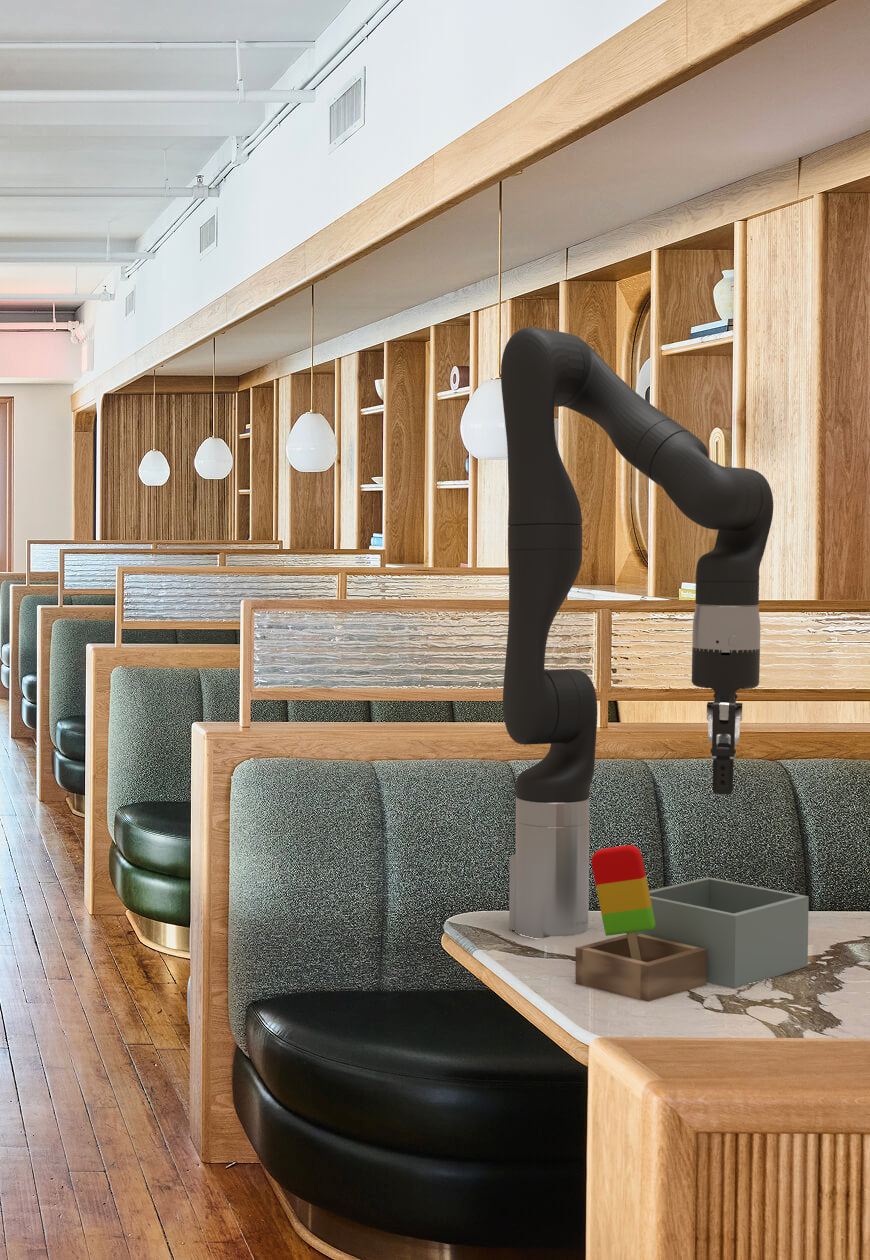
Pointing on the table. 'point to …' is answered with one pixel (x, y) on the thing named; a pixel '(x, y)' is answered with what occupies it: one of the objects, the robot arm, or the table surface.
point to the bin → (735, 928)
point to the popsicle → (623, 893)
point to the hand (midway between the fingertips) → (723, 787)
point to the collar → (641, 967)
